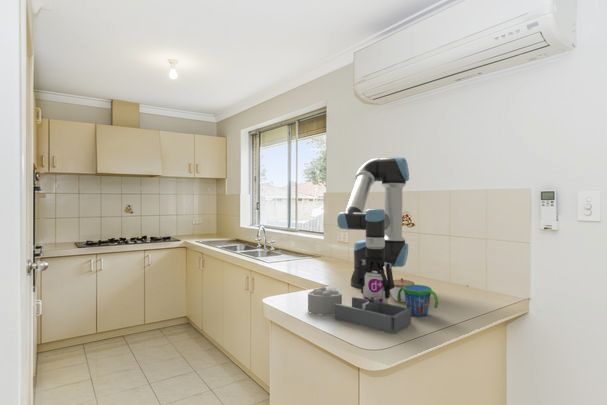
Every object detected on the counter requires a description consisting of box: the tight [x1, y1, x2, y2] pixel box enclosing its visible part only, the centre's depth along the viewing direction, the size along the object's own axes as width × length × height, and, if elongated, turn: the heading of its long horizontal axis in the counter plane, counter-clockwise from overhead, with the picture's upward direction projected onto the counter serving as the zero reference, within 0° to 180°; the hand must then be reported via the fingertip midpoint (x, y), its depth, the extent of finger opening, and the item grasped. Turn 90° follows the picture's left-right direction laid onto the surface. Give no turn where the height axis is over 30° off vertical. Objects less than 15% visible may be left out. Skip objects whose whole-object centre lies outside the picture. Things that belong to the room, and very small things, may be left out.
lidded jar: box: [390, 278, 416, 303], centre depth 162 cm, size 11×11×9 cm
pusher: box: [362, 297, 379, 313], centre depth 134 cm, size 2×10×7 cm, turn 140°
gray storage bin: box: [334, 296, 412, 335], centre depth 134 cm, size 24×13×6 cm, turn 50°
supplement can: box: [365, 271, 384, 303], centre depth 148 cm, size 8×8×15 cm
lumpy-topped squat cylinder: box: [307, 286, 343, 316], centre depth 147 cm, size 10×13×9 cm
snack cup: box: [397, 284, 439, 317], centre depth 143 cm, size 16×10×10 cm
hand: (375, 303), depth 148 cm, fingers closed on supplement can, 8 cm apart
